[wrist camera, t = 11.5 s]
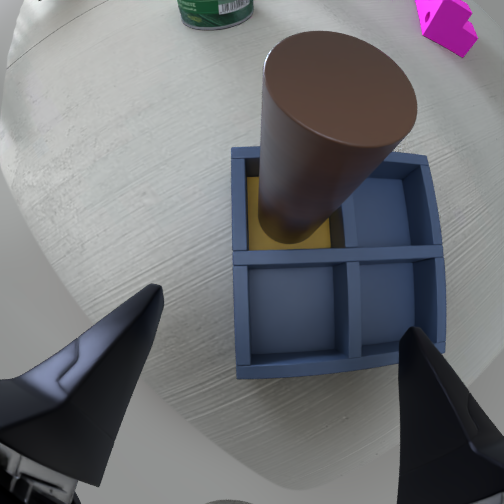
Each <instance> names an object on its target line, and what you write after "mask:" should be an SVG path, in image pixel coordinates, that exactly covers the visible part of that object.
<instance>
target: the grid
mask: <svg viewBox="0 0 504 504" xmlns="http://www.w3.org/2000/svg"><path fill="white" fill-rule="evenodd" d="M259 167H260V146H255V147H232V148H231V197H232V250H233V294H234V325H235V352H236V376H237V379H268V378H287V377H301V376H313V375H323V374H332V373H341V372H349V371H356V370H363V369H369V368H375V367H381V366H387V365H393V364H398V363H399V341H400V339H401V337H402V336H403V335H404V333H405V332H406V331H407V329H408V328H409V327H411V326H414V327H420V328H421V329H422V330H423V332H424V333H425V334H426V335H427V336H428V338H429V339H430V340H431V341H432V343H433V344H434V345H435V347H436V348H437V349H438V350H439V352H440V353H441V354H443V353H445V345H446V342H445V341H446V280H445V265H444V257H443V256H444V255H443V246H442V235H441V228H440V221H439V214H438V208H437V202H436V196H435V191H434V186H433V181H432V176H431V172H430V168H429V164H428V159H427V156H425V155H418V154H410V153H401V152H391V153H390V154H389V155H388V156H387V157H386V158H385V159H384V160H383V162H382V163H381V164H380V165H379V166H378V167H377V168H376V169H375V170H374V171H373V172H372V173H371V174H370V175H369V176H368V177H367V178H366V179H365V181H364V182H363V183H362V184H361V185H360V186H359V187H358V188H357V189H356V190H355V191H354V192H353V193H352V194H351V195H350V196H349V197H348V198H347V199H346V200H345V201H344V202H343V203H342V204H341V205H340V206H339V207H338V208H337V210H336V211H335V212H334V213H333V214H332V215H331V216H330V217H329V218H328V219H327V220H326V221H325V222H324V223H323V224H322V225H321V226H320V227H319V228H318V229H317V230H316V231H315V232H314V233H313V234H312V235H311V236H310V237H309V238H307V239H306V240H304V241H302V242H300V243H296V244H282V243H279V242H276V241H274V240H273V239H271V238H270V237H269V236H267V235H266V234H265V232H264V231H263V230H262V228H261V226H260V224H259V220H258V192H259Z"/></svg>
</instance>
